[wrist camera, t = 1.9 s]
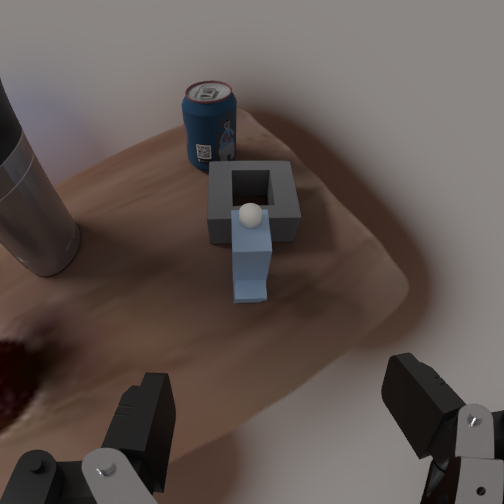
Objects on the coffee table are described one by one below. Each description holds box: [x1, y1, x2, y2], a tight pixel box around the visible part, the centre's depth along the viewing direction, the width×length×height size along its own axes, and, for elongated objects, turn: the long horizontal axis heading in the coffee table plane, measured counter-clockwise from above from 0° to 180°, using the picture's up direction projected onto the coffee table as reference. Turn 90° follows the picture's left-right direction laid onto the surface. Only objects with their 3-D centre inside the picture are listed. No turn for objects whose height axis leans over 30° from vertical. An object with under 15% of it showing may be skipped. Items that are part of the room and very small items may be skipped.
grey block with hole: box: [207, 161, 301, 244], centre depth 36 cm, size 10×9×5 cm
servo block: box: [231, 203, 272, 303], centre depth 28 cm, size 8×3×12 cm, turn 4°
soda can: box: [182, 81, 237, 173], centre depth 38 cm, size 7×7×12 cm
